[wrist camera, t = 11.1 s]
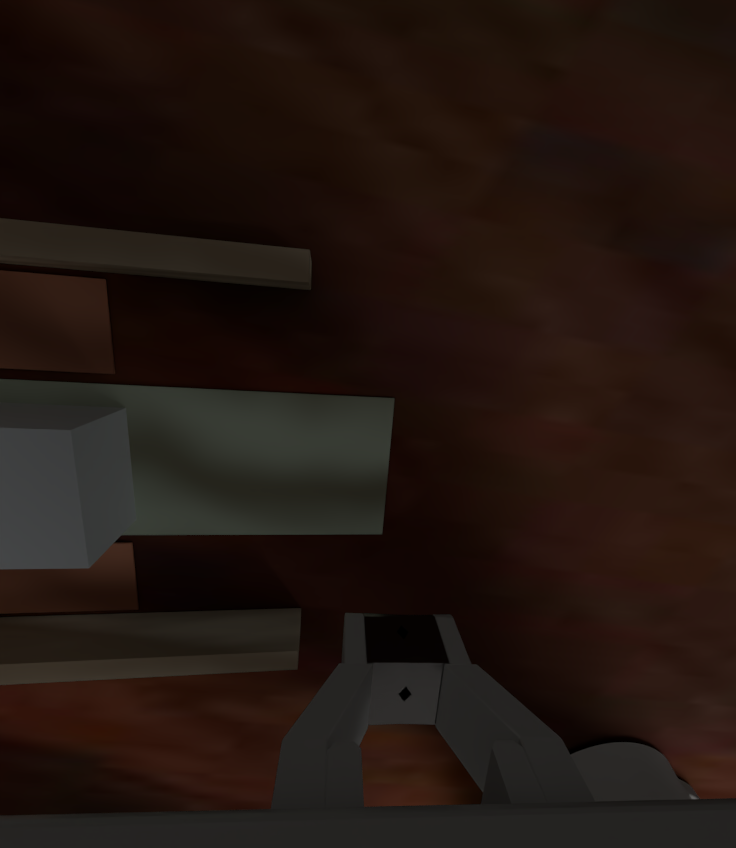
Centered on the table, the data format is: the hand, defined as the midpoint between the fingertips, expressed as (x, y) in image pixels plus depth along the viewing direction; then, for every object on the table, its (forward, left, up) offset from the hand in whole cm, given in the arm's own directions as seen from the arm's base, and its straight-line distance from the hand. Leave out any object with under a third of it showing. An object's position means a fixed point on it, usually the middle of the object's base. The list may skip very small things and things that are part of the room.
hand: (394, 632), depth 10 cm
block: (+1, +15, -10) cm, 18 cm away
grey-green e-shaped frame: (+1, +10, -10) cm, 15 cm away
